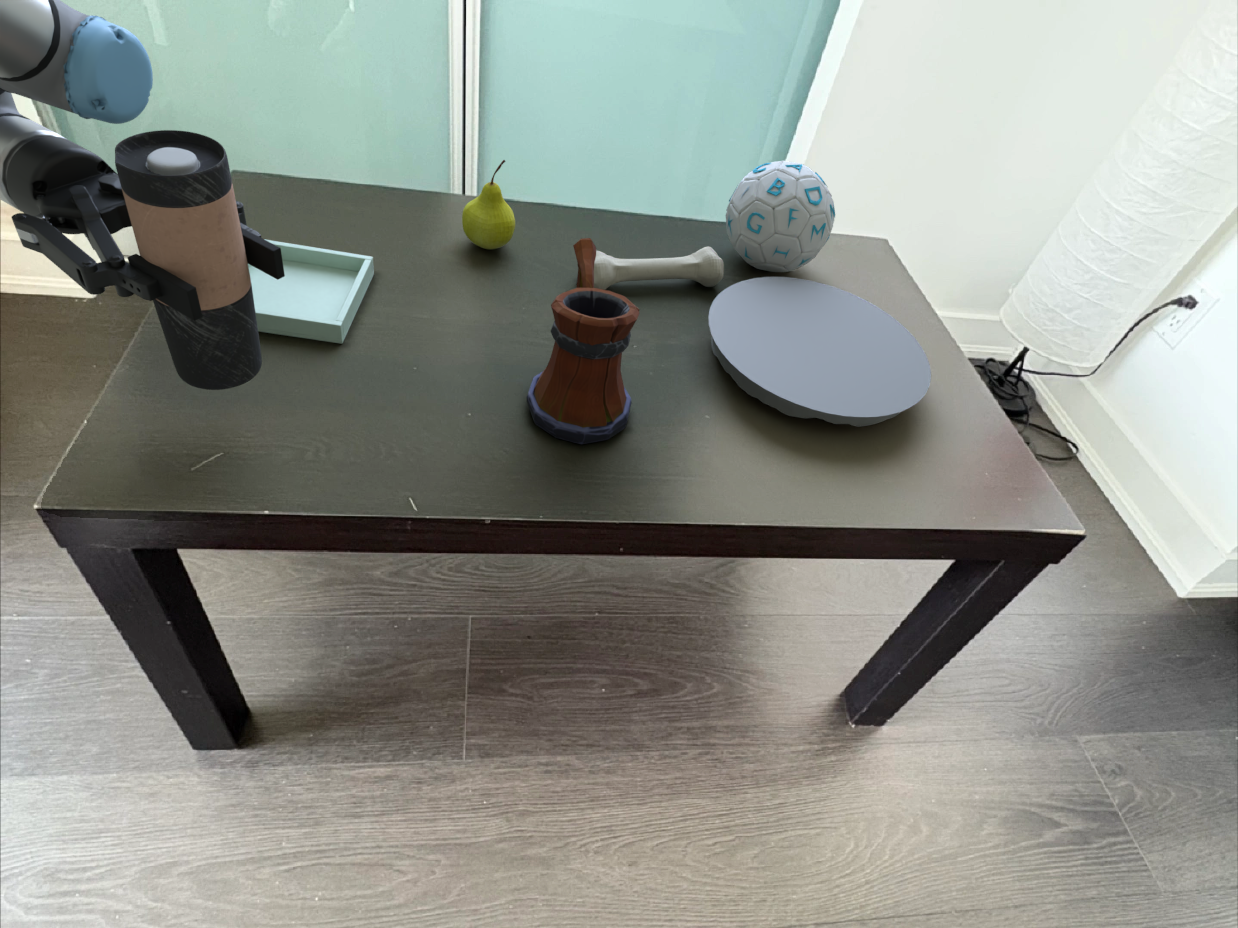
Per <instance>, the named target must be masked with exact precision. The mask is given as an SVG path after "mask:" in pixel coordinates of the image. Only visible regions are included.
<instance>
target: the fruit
mask: <svg viewBox="0 0 1238 928" xmlns="http://www.w3.org/2000/svg"><path fill="white" fill-rule="evenodd" d="M505 163H506V160H505V159H503V160H502V161H501V163H500V164H499V165H498V166H497V168H496V169H495V170H494V173H493V174H492V177H491V180H490V181H488V182H486V183H485V184H484V185H483V187H482V189H481V191H480V193H479V195H478V196H476V197H475V198H474V199H472V200H470V201H469V202H467V203H466V204H465V206H464V207H463V210H462V214H461V224H462V229H463V233H464V234H465V236H466V238H468V240H469V241H470V242H471V243H473V244H474V245H475V246H477V247H479V248H481V249H485V250H496V249H500V248H502V247H504V246H505V245H508V243H509V242H510V241H511V240H512V238H513V235H514V232H515V229H516V218H515V214H514V211H513V209H512V207H511V206H510V205H509V204H508V203H507V202H506V201H505V199H504V197H503V194H502V190H501V187H500V186H499V184H498V183H496V182H494V180H495V179H494V178H495V175H496V174H497V172H499V170H500V169H501V167H503V165H504V164H505Z"/></svg>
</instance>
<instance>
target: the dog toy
mask: <svg viewBox="0 0 1238 928" xmlns="http://www.w3.org/2000/svg"><path fill="white" fill-rule="evenodd" d="M724 275H725V263H724V260H723V259H722V258H721V257H720V256H719V255H718V253H717V252H716V251H715V249H713V247H711V246H709V245H708V246H704V247H701V248H700V249H698V250H697V251H695V252H692V253H691V254H689V255H685V256H678V257H677V256H676V257H660V258H658V257H657V258H656V257H655V258H618V257H615V256H613V255H607V254H606V253H605V252H603V251H600V250H596V258H595V263H594V288H598V289H603V290H607V289H608V288H609V287H610V286H613V285H615V284H618V283H623V282H624V283H625V282H636V281H638V282H639V281H663V280H690V281H691V280H692V281H694V282H697V283H699V284H701V285H702V286H704V287H707V288H712V287H715V286H716V285H718V284H719V283H720V282H721V281H722V280H723V278H724Z"/></svg>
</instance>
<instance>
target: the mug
mask: <svg viewBox="0 0 1238 928" xmlns="http://www.w3.org/2000/svg"><path fill="white" fill-rule="evenodd" d="M572 247H573V250H574V254H575V258H576V263H577V264H576V265H577V279H576V287H575V288H572V289H570V290H566V291H564V292H561V293H560V294H558V295H556V297H555V298H554V299H553V301H552V302H551V304H550V307H551V311H552V314H553V319H554V321H553V323H552V326H551V329H550V334H551V336H552V339H553V340H554V343H553V346H552V351H551V355H550V358H549V361H548V363H547V365H546V367H545V368H544V370H543V371H541V372H538V373H537V374H536V375H534V376H533V377H532V380H531V383H530V386H529V389H528V393H527V395H526V403H527V406H528V410H529V411H530V415H531V417H532V420H533V422H534V424H535V426H537V427H539V428H540V429H541V430H543V431H544V432H546V433H548V434H550V435H551V436H552V437H554V438H555V439H559V440H563V441H567V442H571V443H574V444H578V445H586V444H591V443H597V442H602V441H607V440H610V439H611V438H612V437H614V436H615V435H617V434H619V433H620V432H622V431H623V430H624V429H626V427H627V424H628V420H629V416H630V411H631V406H632V397H631V396H630V393H629V392H628V391H627V389H626V387H625V384H624V380H623V375H622V369H621V368H622V356H623V353H624V352H625V350H626V349H627V348H628V347H629V345H630V342H631V336H632V334H631V331H632V329H633V327H634V326H635V324H636V322H637V321H638V318H639V316H640V308H639V307H638V306H637V305H635V304H634V303H633V302H632V301H631V300H629V298H628V297H626V296H625V295H622V294H620V293H616V292H614V291H611V290H607V289H605V290H603V289H598V288H594V263H595V258H596V251H597V247H596V245H595V243H594V241H593V239H592V238H590V237H584V238H580V239H578V241H576V242H575V243H574V244H573V245H572Z"/></svg>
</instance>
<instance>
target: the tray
mask: <svg viewBox="0 0 1238 928" xmlns="http://www.w3.org/2000/svg"><path fill="white" fill-rule="evenodd" d="M263 239H264V238H263ZM264 240H266V241H268V242H270V243H272V244H274V245H276V246H278V247H280V248H281V254H282V261H283V268H284V275H285V276H284V277H282V278H280V279H278V280H277V279H275V278H274V277H272V276H270V275H268V274H266V273H264V272H263V271H261V270H259V269H257V268H255V267H253V266H252V265H250V264H248V267H249V273H250V278H251V284H252V291H253V298H254V306H255V313H256V320H257V327H258V332H261V333H268V334H272V335H273V334H274V335H279V336H280V335H281V336H286V337H287V336H288V337H294V338H299V339H300V338H301V339H308V340H314V341H321V342H326V343H327V342H328V343H335V344H341V345H342V344H343V343H344V341H345V339H346V337H347V335H348V333H349V330H350V328H351V326H352V324H353V321H354V319H355V318H356V315H357V312H358V310H359V308H360V306H361V304H362V302H363V299H364V297H365V295H366V293H367V291H368V288H369V287H370V284H371V282H372V280H373V278H374V275H375V267H374V256H370V255H365V254H360V253H359V254H358V253H353V252H352V253H351V252H345V251H339V250H332V249H327V248H322V247H321V248H320V247H314V246H308V245H302V244H296V243H290V242H283V241H277V240H271V239H264Z"/></svg>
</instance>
